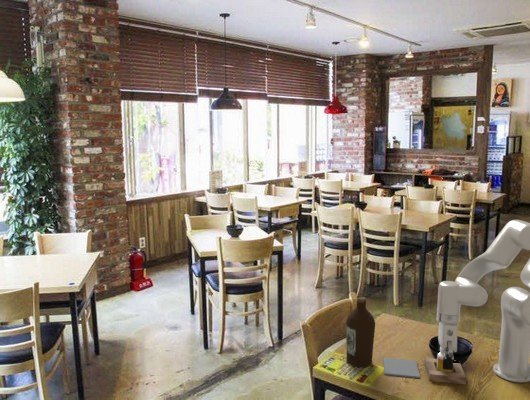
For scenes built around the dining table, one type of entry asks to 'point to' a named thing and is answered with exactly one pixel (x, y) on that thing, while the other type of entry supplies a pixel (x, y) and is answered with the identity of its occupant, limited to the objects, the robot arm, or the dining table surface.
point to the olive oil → (360, 335)
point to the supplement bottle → (440, 361)
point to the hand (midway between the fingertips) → (445, 362)
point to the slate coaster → (400, 367)
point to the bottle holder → (444, 373)
